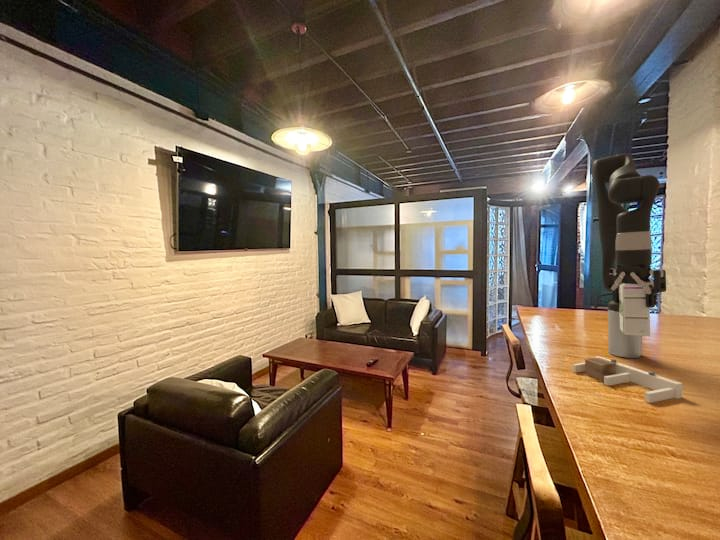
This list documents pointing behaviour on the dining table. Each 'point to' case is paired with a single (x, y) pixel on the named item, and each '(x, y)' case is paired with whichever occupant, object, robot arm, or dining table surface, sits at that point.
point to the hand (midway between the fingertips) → (633, 305)
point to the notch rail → (641, 381)
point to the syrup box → (633, 310)
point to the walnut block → (599, 368)
